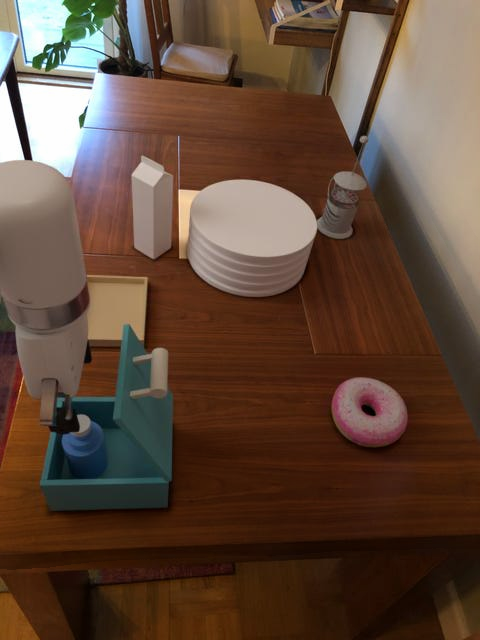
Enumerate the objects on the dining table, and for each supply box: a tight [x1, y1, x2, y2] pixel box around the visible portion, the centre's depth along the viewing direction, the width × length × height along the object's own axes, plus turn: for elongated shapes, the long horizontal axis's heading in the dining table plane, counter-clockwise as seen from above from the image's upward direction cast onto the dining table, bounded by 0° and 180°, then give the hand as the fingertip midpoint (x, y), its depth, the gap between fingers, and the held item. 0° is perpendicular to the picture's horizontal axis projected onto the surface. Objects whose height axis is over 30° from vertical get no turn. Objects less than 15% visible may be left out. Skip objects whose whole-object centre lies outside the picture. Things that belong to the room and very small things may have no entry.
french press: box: [316, 135, 369, 240], centre depth 116 cm, size 10×12×25 cm
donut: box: [330, 376, 409, 448], centre depth 84 cm, size 14×13×5 cm
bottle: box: [62, 415, 108, 479], centre depth 68 cm, size 6×6×12 cm
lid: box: [113, 324, 174, 482], centre depth 62 cm, size 17×14×5 cm
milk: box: [131, 155, 174, 260], centre depth 102 cm, size 6×6×22 cm
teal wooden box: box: [39, 396, 170, 512], centre depth 71 cm, size 17×14×9 cm
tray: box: [86, 274, 149, 348], centre depth 94 cm, size 17×13×2 cm
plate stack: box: [187, 179, 318, 298], centre depth 108 cm, size 28×28×12 cm
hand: (72, 393), depth 57 cm, fingers open, 9 cm apart
